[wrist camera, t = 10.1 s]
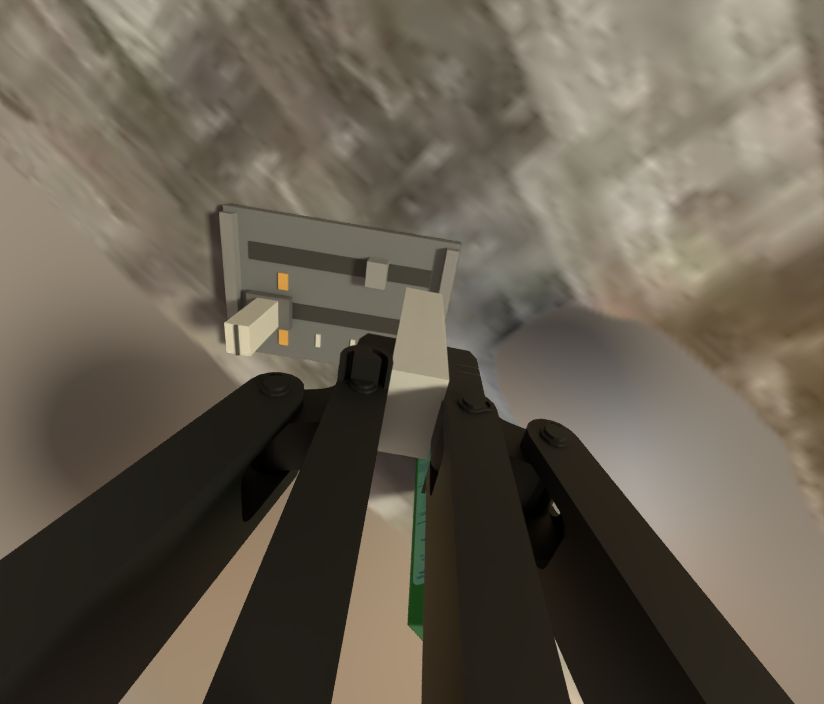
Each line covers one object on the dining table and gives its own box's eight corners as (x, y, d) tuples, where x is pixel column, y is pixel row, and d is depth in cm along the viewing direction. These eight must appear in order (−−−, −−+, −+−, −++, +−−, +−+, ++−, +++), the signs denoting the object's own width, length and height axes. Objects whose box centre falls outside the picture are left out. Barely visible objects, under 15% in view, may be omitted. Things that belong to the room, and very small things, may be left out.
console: (230, 203, 38) (211, 207, 35) (460, 241, 39) (463, 248, 36) (239, 342, 45) (224, 355, 42) (433, 373, 46) (433, 388, 43)
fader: (249, 290, 40) (209, 318, 33) (292, 297, 40) (261, 326, 33) (251, 320, 42) (212, 354, 34) (292, 327, 42) (262, 362, 34)
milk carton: (416, 442, 51) (404, 658, 29) (477, 418, 49) (515, 632, 26) (446, 485, 54) (455, 709, 32) (504, 465, 52) (558, 690, 30)
